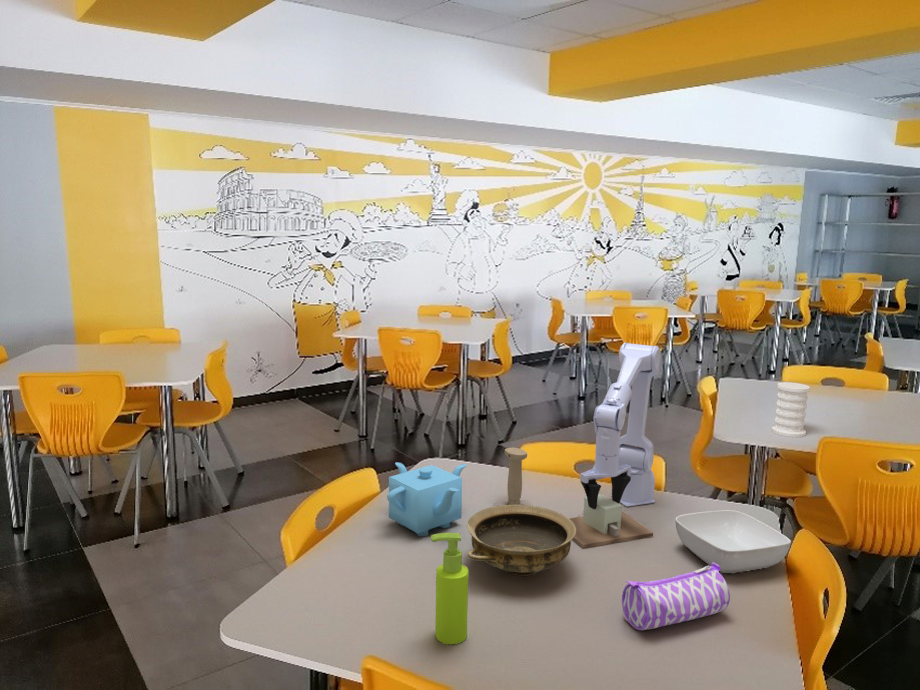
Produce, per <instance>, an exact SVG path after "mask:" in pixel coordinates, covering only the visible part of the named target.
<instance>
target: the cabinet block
mask: <svg viewBox="0 0 920 690" xmlns="http://www.w3.org/2000/svg"><path fill="white" fill-rule="evenodd" d="M583 498H584V499H583V500H584V502H583V515H582V516H583V522H584V523H586V524H588V525H589V526H591V527H593V528H594V529H596V530H598V531H599V532H601V533H603V534H607V528H608V524H609V523H612V524H613V525H615V526H616V527H617V528H619V530H620V526H621V511H622V509H623V506H622V505H623V504H621V503H619V504H618V503H616V502H615V501H613V500H612V498H611V499H610V498H609V497H608V496H607V497H606V496H605V495H603V494H601V493H599V494H598V499H597V507H596V509H592V508H590V507H589V505H588V500H587V496H585V497H583ZM622 512H623V511H622Z"/></svg>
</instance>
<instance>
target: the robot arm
mask: <svg viewBox="0 0 920 690" xmlns="http://www.w3.org/2000/svg"><path fill="white" fill-rule="evenodd" d="M661 359H662V353H661V349H660V347H659V346H658V345H648V344H639V343H629V342H623V344H622V345H620V347H619V352H618V361H619V364H620V366H619V367H620V371H619V374H618V377H617V380H616V382H614V383H612V384H610V386H609V388H608V390H607V393H606V394H605V396H604V399H603V401H602V403H601V404H600V405H597V406H596V407H595V409H594V414H593V425H594V434H595V436H596V438H595V453H594V454H595V456H594V465H592V468H591V469H588V470H586V471H584V472H581V473H580V477H579V478H580V479H579V481H580V484H581V485H582V487H583V489H584V492H585V495H586V496H585V497H587V500H588V505H589V507H590V508H592V509H596V507H597V499H598V494H600V491H601V487H602V485H601V484H599V483H598V481H597V480H601V479H607V478H610V482H611V494H610V497H611V500H613V501H615V502H616V503H618V504H621V505H624V506H625V507H627V508H629V507H634V506H640V505H641V506H642V505H648V504H654V503H656V500H655V499H654V498H655V497H654V496H655V484H656V479H655V475H654V474H655V473H654V471H653V470H652V467H653V465H654V457H655V455H654V454H655V453H654V444H653V442H652V441H651V440H650V439H649V438H648V437H647V436H646V435H645V431H646V424H647V415H648V406H649V399H650V398H649V397H650V389H651V383H652V378H653V377H656V376H658V375H659V372H660V366H661ZM628 405H629V410H628V418H627V419H628V420H627V429H626V434H624V435H622V436H621V431H622V429H623V427H624V426H625V425H624V424H625V421H626V417H627V407H628Z"/></svg>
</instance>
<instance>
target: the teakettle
mask: <svg viewBox="0 0 920 690" xmlns="http://www.w3.org/2000/svg"><path fill="white" fill-rule="evenodd" d="M394 464H395V466H396V467H397V469H398V472H399V473H397V474H395V475H392V476H389V477H388V494H387V496H386V499H387V501H388V518H389V519H391V520H393V521H394V522H397V523H398V524H399V525H400V526H401V527H405V528H407V529H409V530H411V531H412V532H414V533H416V535H417V536H419V537H426V536H429V533H430V532H429V530H432V529H435V528H438V527H440V528H442V529H449V528H451V526H452V525H451V523H452V522H455V521H457V520H460V519H462V505H463V503H462V501H463V478H462V477H461V476H460V475H461V472H462V471H463V470H464V468H466V467H467V464H465V463H464V464H459V465H457V466H456V467H455V468H454V469H453V471H452V473H451V472H450V471H447V470H444V469H442V468H440V467H438V466H436V465H427V466H423V467H419V468H416V469H413V470H409V471H408V470H407V468H406V466H405V465H404V464H403V463H402V462H397V461H396V462H395V463H394Z"/></svg>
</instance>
